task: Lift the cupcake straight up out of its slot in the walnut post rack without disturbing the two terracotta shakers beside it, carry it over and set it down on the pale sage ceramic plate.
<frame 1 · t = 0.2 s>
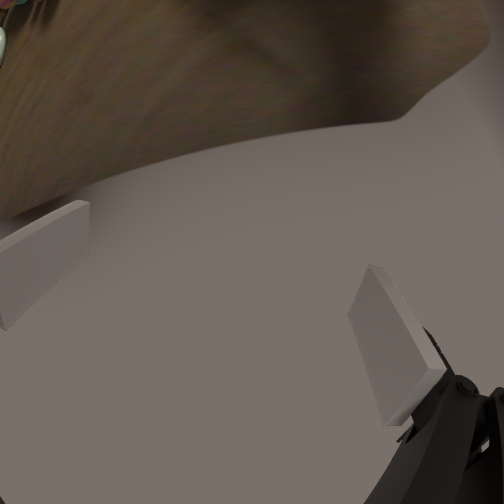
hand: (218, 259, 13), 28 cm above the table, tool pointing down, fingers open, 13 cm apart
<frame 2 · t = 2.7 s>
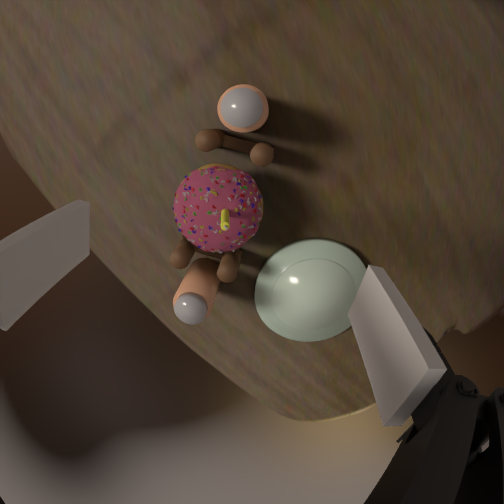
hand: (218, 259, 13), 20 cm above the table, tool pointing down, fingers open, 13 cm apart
plate: (312, 291, 36), on the table
rack: (224, 198, 32), on the table
cupcake: (224, 197, 32), on the table
shaker 2: (249, 112, 28), on the table
shaker 1: (205, 272, 35), on the table
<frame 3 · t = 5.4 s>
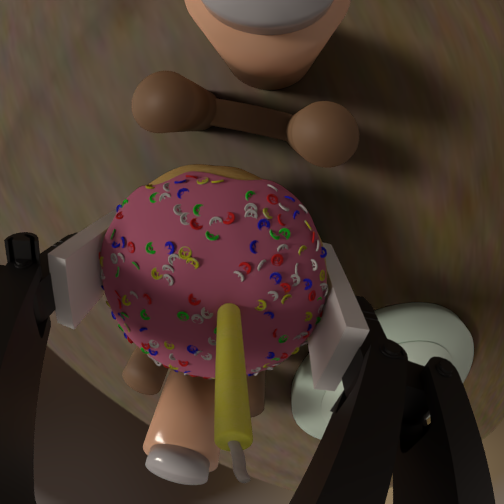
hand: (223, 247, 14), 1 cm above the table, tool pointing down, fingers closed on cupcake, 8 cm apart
plate: (385, 382, 18), on the table
rack: (226, 240, 15), on the table
cupcake: (227, 239, 15), on the table, touching gripper
shaker 2: (269, 50, 11), on the table
shaker 1: (202, 370, 19), on the table
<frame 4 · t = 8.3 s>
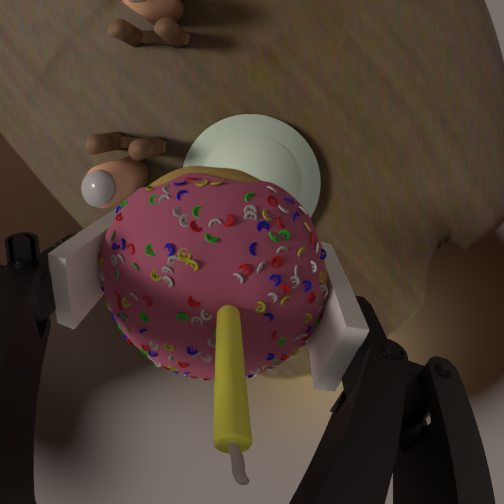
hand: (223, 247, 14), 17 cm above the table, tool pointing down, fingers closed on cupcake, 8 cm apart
plate: (250, 182, 30), on the table
rack: (146, 89, 26), on the table
cupcake: (226, 240, 15), point 16 cm above the table, touching gripper
shaker 2: (166, 12, 23), on the table
shaker 1: (132, 173, 30), on the table
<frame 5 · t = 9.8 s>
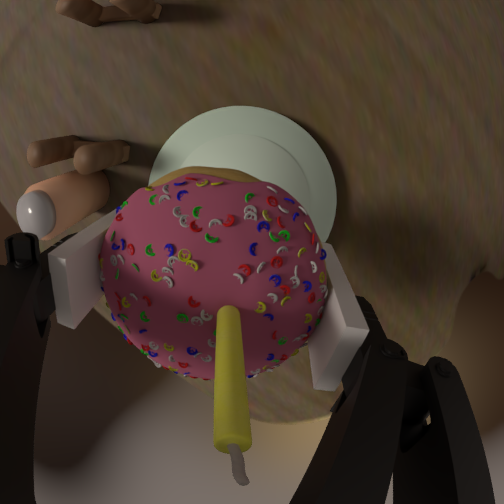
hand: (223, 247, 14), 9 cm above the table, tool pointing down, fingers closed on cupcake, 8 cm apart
plate: (240, 199, 22), on the table
rack: (105, 79, 19), on the table
cupcake: (226, 240, 15), point 8 cm above the table, touching gripper
shaker 1: (90, 188, 22), on the table
when the fingers open (4 cm above the table, at t = 11.2 s): cupcake drops 1 cm, resting on plate.
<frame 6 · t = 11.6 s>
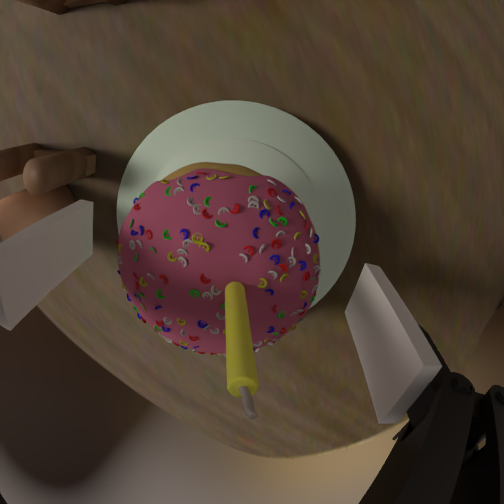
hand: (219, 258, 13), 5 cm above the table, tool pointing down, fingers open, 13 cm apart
plate: (232, 222, 18), on the table
rack: (68, 74, 14), on the table
cupcake: (229, 229, 16), point 1 cm above the table, touching plate
shaker 1: (55, 206, 18), on the table
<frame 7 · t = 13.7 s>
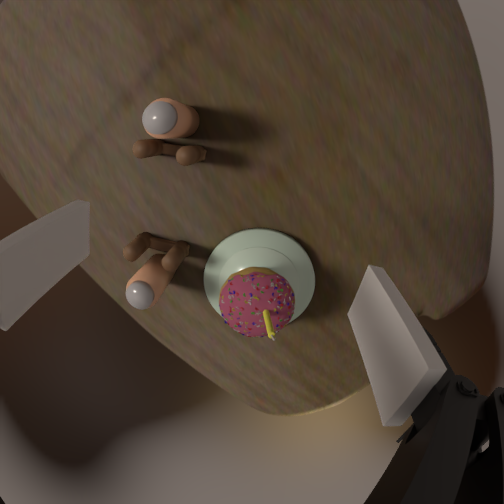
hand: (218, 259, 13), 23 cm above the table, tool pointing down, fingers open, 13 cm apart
plate: (259, 280, 38), on the table
rack: (169, 198, 35), on the table
cupcake: (258, 284, 37), point 1 cm above the table, touching plate
shaker 2: (182, 121, 32), on the table
shaker 1: (161, 267, 39), on the table
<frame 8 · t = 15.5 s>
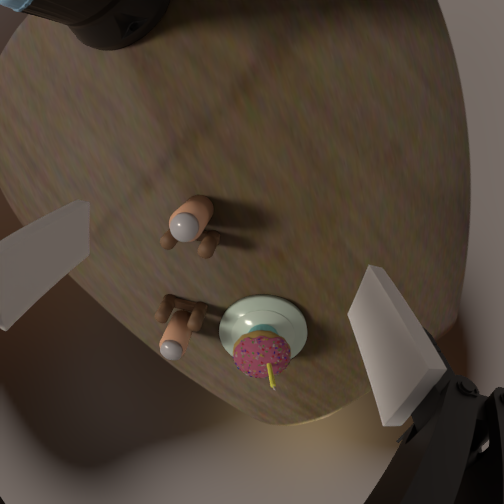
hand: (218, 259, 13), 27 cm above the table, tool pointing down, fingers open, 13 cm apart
plate: (263, 330, 47), on the table
rack: (189, 270, 43), on the table
cupcake: (263, 335, 46), point 1 cm above the table, touching plate
shaker 2: (199, 209, 40), on the table
shaker 1: (183, 320, 47), on the table
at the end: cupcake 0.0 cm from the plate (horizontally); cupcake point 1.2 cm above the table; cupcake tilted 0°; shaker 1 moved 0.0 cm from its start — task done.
